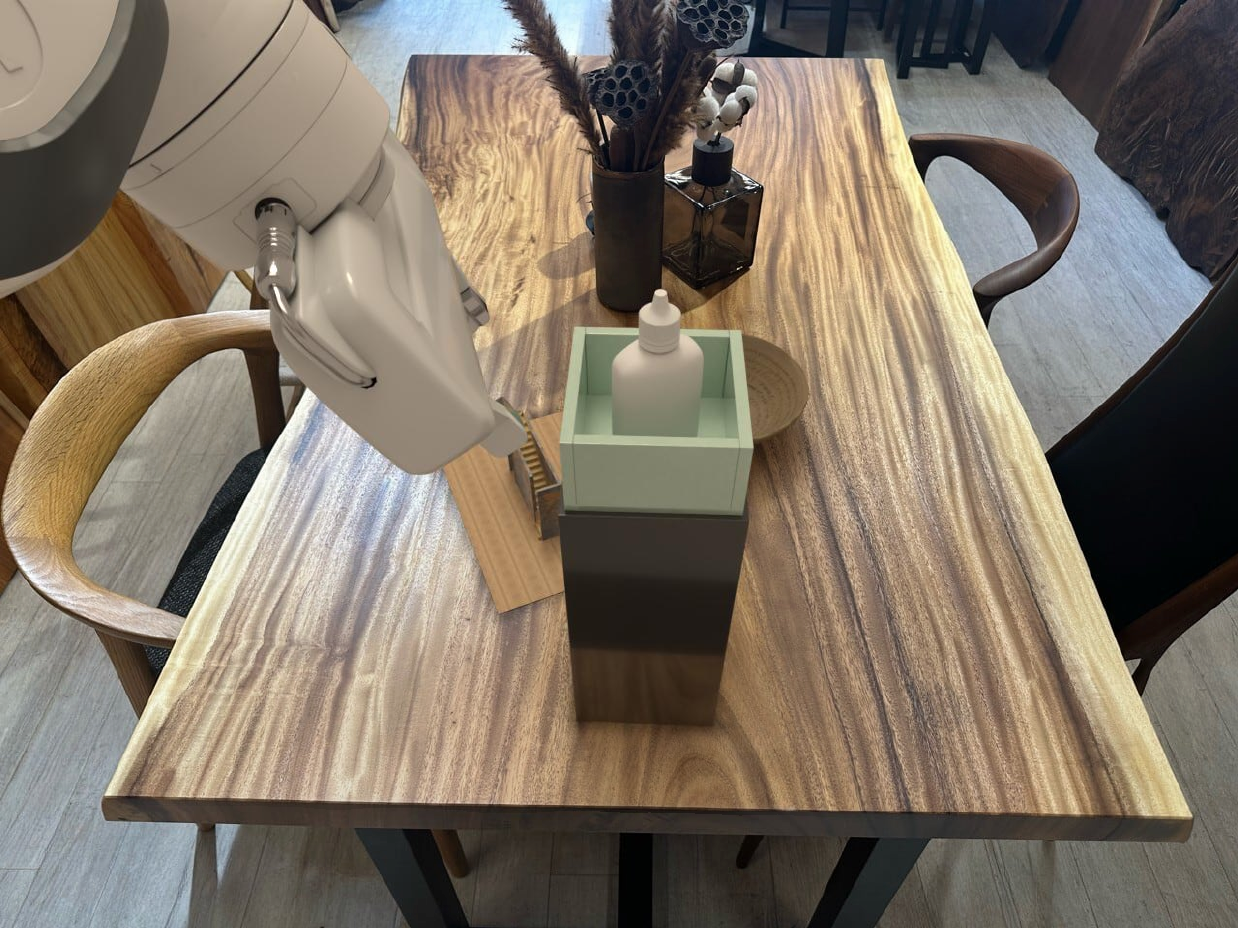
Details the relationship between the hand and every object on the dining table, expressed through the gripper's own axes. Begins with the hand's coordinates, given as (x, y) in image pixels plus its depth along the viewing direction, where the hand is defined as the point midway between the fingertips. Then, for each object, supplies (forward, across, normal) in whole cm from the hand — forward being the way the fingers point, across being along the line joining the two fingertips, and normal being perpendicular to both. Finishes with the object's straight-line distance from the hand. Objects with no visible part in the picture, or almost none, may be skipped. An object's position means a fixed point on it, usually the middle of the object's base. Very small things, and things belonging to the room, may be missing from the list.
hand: (493, 375), depth 39 cm
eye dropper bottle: (+17, +6, -2) cm, 18 cm away
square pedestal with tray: (+41, +7, +12) cm, 43 cm away
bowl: (+50, +34, -4) cm, 60 cm away
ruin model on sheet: (+38, +29, +16) cm, 51 cm away
